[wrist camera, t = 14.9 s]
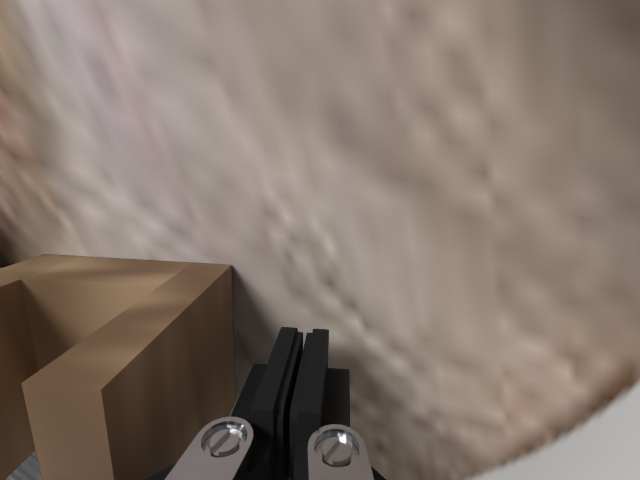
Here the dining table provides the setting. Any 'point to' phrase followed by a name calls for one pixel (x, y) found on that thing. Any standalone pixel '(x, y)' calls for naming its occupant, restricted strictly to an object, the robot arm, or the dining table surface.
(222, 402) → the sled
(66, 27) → the dining table surface
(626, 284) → the dining table surface
